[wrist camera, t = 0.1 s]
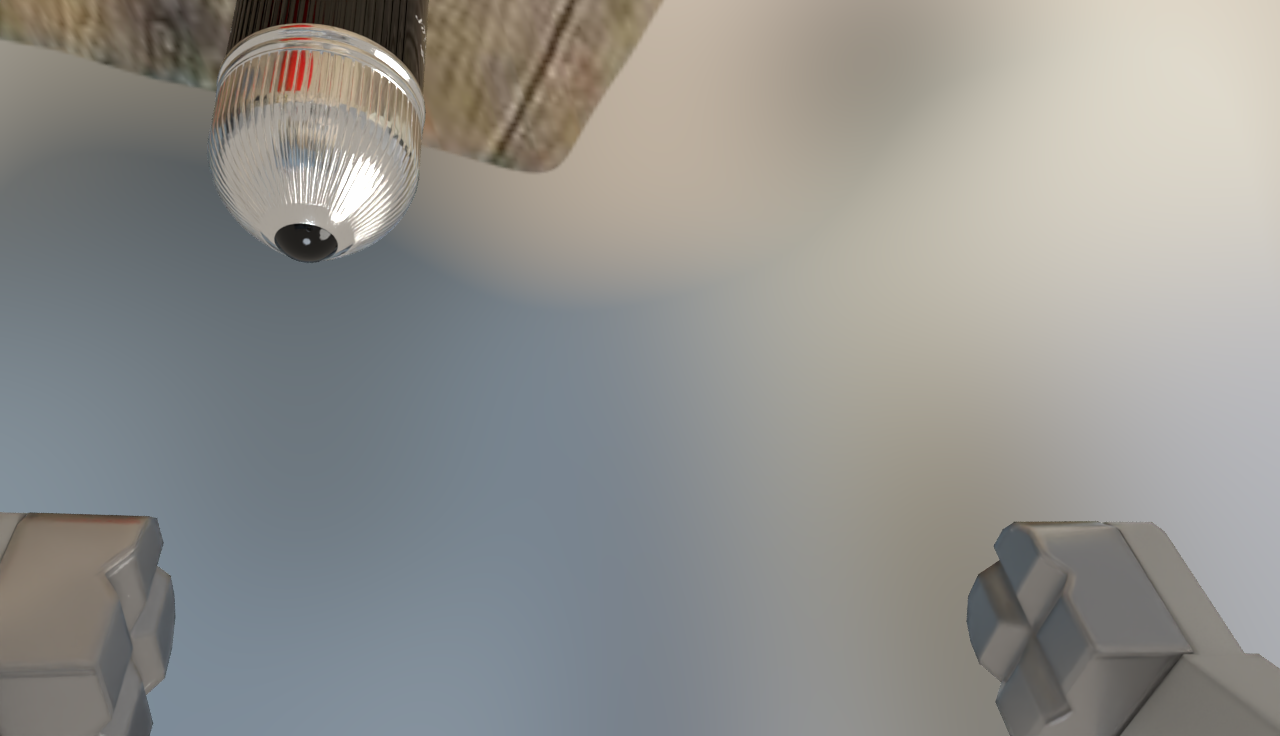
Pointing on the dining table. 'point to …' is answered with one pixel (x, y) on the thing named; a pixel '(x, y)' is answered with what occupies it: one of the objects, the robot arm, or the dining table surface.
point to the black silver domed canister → (320, 121)
